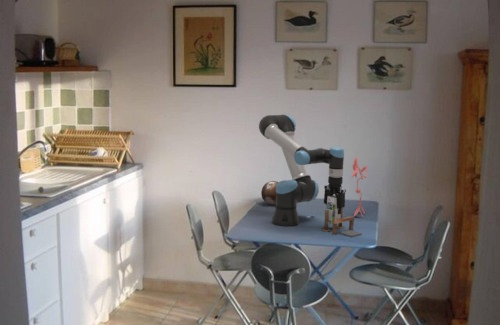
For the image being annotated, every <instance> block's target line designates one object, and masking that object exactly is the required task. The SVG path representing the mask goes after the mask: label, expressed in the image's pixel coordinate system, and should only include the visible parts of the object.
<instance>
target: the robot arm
mask: <svg viewBox="0 0 500 325" xmlns="http://www.w3.org/2000/svg"><path fill="white" fill-rule="evenodd" d="M296 126H297V125H296V121H295V119H294V117H292V115H289V114H273V115H271V114H269V115H265V116H264V117H262V118H261V119H260V121H259V122H258V129H259V132H260V134H261V135H262V136H263V137H264V138H266V139H268V140H271V142H272V141H273V143H274V144H276V145H277V146H279V147H280V148H281V150H282V154H283V156H284V159H285V161H286V164H287V166H288V170H289V174H290V175H291V178H292V179H288V180H287V179H285V180H281V181H277V182H278V183H277V186H276V205H275V209H274V212H273V216H272V218H271V223H272V224H273V225H276V226H280V227H282V226H284V227H293V226H297V225H299V224H300V218H299V215H298V214H299V213H298V211H297V206H298V205H297V204H298V203H306V202H307V203H308V202H311V201H314V200H315V199H317V197H318V196H319V191H320V190H319V188H320V187H319V183H318V182H317V181H316V180H314V179H312V177H311V175H310V174H308V173H307V171H306V169H305V166H306V165H307V166H308V165H314V164H316V165H317V164H328V177H327V178H328V179H327V182H328V185H323V187H324V196H323V204H325V205H326V206H327V197H328V196H333V195H335V196H336V198H337V208H336V219H340V214H341V209H342V208H343V209H344V208H346V207H345V206H346V192H347V190H346V189H344V188H343V186H342V185H343V176H344V160H345V159H344V158H345V149H344V148H343V147H341V146H332V147H330V148H329V149H327V148H322V147H316V148H314V149H307V148H306V147H305V146H303V145H301V144H300V143H299V142H298V141H296V140H295V138H294V136H295V134H296V133H295V131H296V129H297V128H296ZM325 210H327V208H326V209H325Z"/></svg>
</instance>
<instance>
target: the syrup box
mask: <svg viewBox="0 0 500 325" xmlns="http://www.w3.org/2000/svg"><path fill="white" fill-rule="evenodd" d="M336 208H337V198H336V196H335V194H334V195H333V196H328V197H327V205H326V209H327V210H329V220H328V224H331V225H333V220H336ZM340 219H341V214H340ZM337 225H338V223H337Z"/></svg>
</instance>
